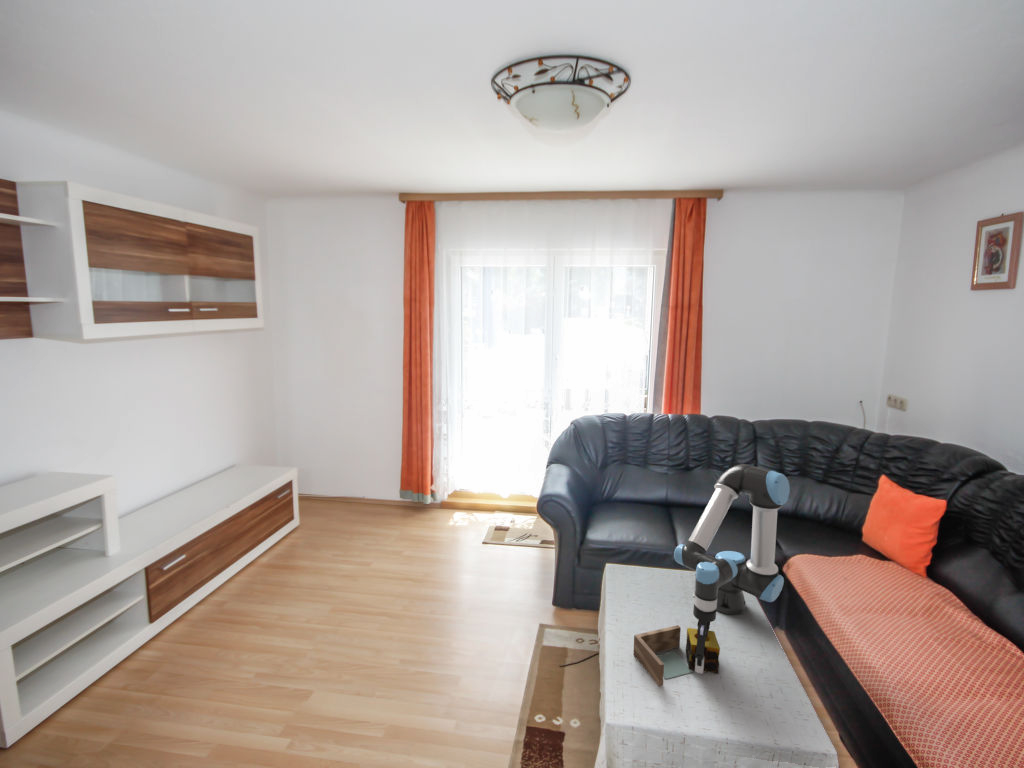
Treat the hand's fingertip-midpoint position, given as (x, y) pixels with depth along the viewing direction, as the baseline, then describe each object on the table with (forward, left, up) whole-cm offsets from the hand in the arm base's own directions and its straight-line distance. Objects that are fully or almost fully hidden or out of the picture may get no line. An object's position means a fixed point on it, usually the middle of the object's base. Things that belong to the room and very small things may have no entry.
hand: (701, 660), depth 184 cm
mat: (+11, -3, -1) cm, 12 cm away
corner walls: (+11, -3, -1) cm, 11 cm away
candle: (0, 0, -1) cm, 1 cm away
